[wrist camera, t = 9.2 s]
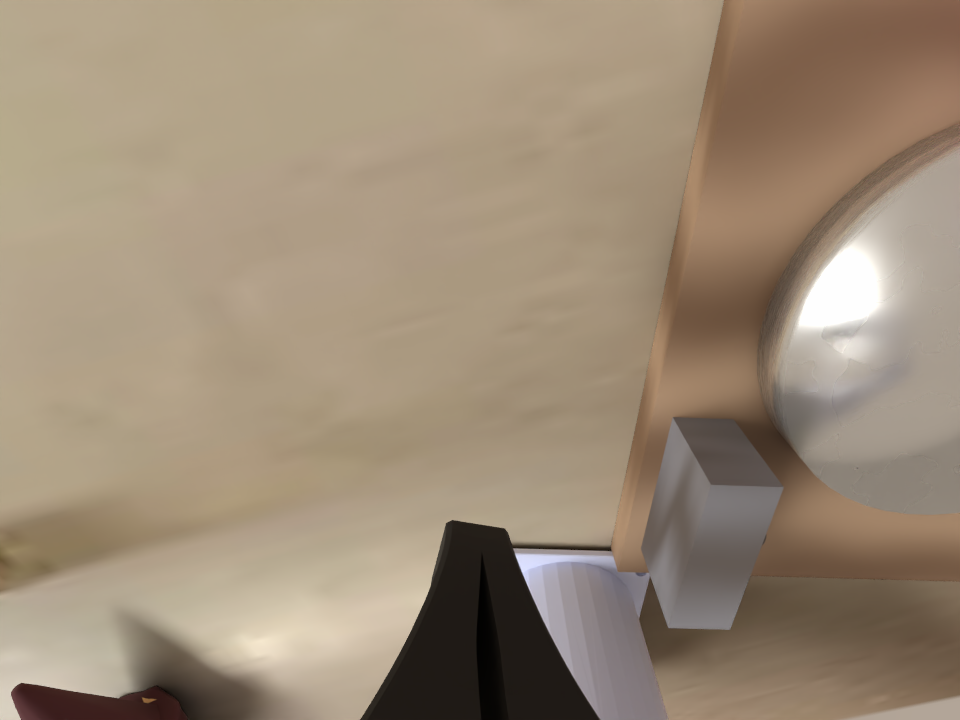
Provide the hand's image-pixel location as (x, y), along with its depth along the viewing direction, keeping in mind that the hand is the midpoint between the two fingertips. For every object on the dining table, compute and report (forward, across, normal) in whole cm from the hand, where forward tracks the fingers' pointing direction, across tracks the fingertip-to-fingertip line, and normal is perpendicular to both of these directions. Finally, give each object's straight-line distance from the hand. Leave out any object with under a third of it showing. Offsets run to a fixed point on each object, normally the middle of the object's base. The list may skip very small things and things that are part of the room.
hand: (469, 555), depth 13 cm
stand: (+10, -16, -6) cm, 20 cm away
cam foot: (+9, -16, -6) cm, 19 cm away
